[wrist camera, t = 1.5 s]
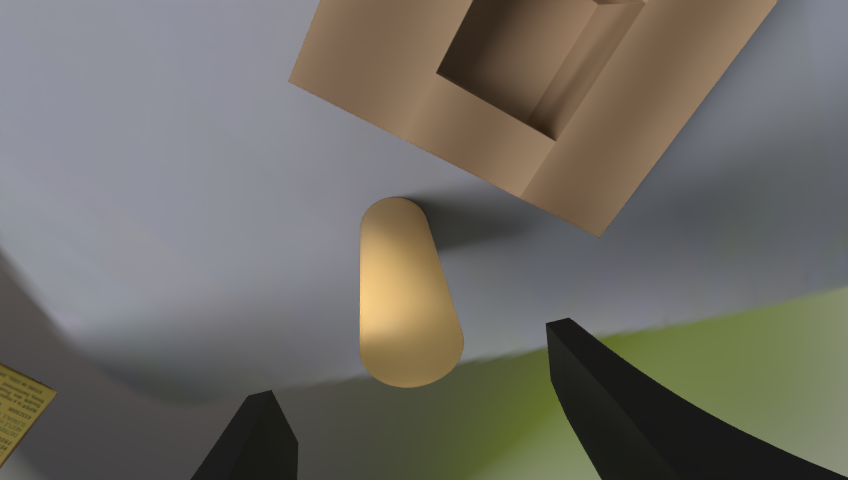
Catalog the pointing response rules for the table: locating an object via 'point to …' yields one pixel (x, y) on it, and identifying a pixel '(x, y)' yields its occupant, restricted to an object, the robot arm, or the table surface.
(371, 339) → the ochre peg
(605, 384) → the robot arm
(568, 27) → the walnut socket block
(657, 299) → the table surface
